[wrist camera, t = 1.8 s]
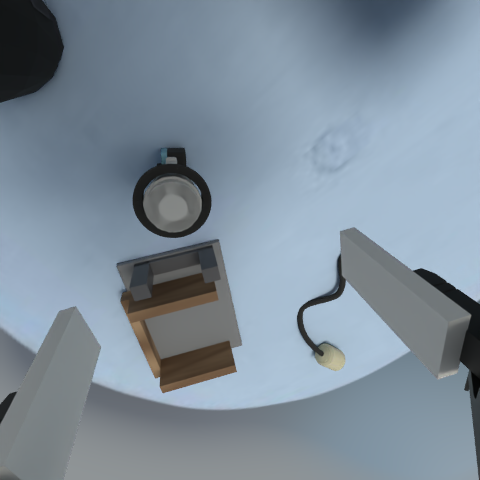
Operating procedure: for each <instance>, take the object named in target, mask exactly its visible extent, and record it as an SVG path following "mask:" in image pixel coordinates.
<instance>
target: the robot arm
mask: <svg viewBox="0 0 480 480" xmlns="http://www.w3.org/2000/svg"><path fill="white" fill-rule="evenodd" d="M340 242H341V266H342V276H343V277H344V278H345V279H346V280H347V282H348V283H349V284H350V285H351V286H352V287H353V288H354V289H355V290H356V291H357V292H358V294H359V295H360V296H361V297H362V298H363V299H364V300H365V301H366V302H367V303H368V304H369V306H370V307H371V308H372V309H373V310H374V311H375V312H376V313H377V314H378V315H379V316H380V317H381V319H382V320H383V321H384V322H385V323H386V324H387V325H388V326H389V327H390V328H391V329H392V331H393V332H394V333H395V334H396V335H397V336H398V337H399V338H400V339H401V340H402V341H403V343H404V344H405V345H406V346H407V347H408V348H409V349H410V350H411V351H412V352H413V353H414V354H415V356H416V357H417V358H418V359H419V360H420V361H421V362H422V363H423V364H424V365H425V366H426V368H427V369H428V370H429V371H430V372H431V373H432V374H433V375H434V376H435V377H436V378H437V379H441V378H443V377H447V376H450V375H453V374H455V373H457V372H458V368H459V364H460V361H461V362H462V363H463V364H464V365H465V366H466V367H467V368H468V369H469V374H468V377H467V381H466V384H465V389H464V390H466V391H468V390H470V398H471V409H472V417H473V427H474V436H475V446H476V455H477V465H478V475H479V480H480V304H478V303H477V302H476V301H474V300H473V299H471V298H470V297H468V296H467V295H465V294H464V293H463V292H461V291H460V290H458V289H456V288H455V287H454V286H453V285H451V284H450V283H447V282H446V281H445V280H444V279H442V278H441V277H440V276H438V275H437V274H435V273H432V272H430V271H427V270H424V269H422V268H421V269H417V270H414V271H412V270H411V269H409V268H408V267H407V266H405V265H404V264H403V263H401V262H400V261H399V260H397V259H396V258H395V257H393V256H392V255H391V254H389V253H388V252H387V251H385V250H384V249H383V248H381V247H380V246H379V245H377V244H376V243H375V242H373V241H372V240H371V239H369V238H368V237H367V236H365V235H364V234H363V233H361V232H360V231H359V230H357V229H356V228H355V227H354V228H350V229H347V230H343V231H340ZM100 349H101V346H100V345H99V343H98V341H97V340H96V338H95V336H94V335H93V333H92V332H91V330H90V328H89V327H88V325H87V323H86V322H85V320H84V319H83V317H82V315H81V314H80V312H79V310H78V309H77V307H76V306H75V307H72V308H68V309H65V310H61V311H59V313H58V314H57V316H56V318H55V320H54V322H53V324H52V326H51V328H50V330H49V332H48V334H47V336H46V338H45V339H44V341H43V343H42V345H41V347H40V349H39V351H38V353H37V355H36V357H35V359H34V361H33V363H32V364H31V366H30V369H29V370H28V372H27V374H26V376H25V378H24V380H23V382H22V384H21V386H20V388H19V389H18V391H17V392H14V393H11V394H9V395H8V396H7V397H6V398H5V400H4V401H3V402H2V403H1V404H0V480H64V476H65V472H66V469H67V466H68V462H69V459H70V455H71V451H72V448H73V445H74V441H75V437H76V434H77V430H78V426H79V423H80V420H81V416H82V412H83V409H84V406H85V402H86V398H87V395H88V391H89V388H90V384H91V381H92V377H93V374H94V370H95V367H96V363H97V360H98V356H99V353H100Z"/></svg>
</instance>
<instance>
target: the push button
mask: <svg viewBox="0 0 480 480" xmlns="http://www.w3.org/2000/svg"><path fill="white" fill-rule="evenodd" d="M161 160H162V163H158V164H157V166H156V167H153V168H151V169H150V170H148V171H147V172H146V173H144V174H143V175H142V177H141V178H140V179H139V181H138V182H137V184H136V186H135V189H134V193H133V208H134V211H135V214H136V216H137V218H138V219H139V221H140V222H141V223H142V225H143V226H144V227H145V228H147V229H148V230H149V231H151V232H153V233H155V234H157V235H159V236H163V237H168V238H178V237H184V236H187V235H189V234H192V233H193V232H195V231H197V230H198V229H199V228H200V227H201V226H202V225H203V224H204V223H205V221H206V220H207V218H208V216H209V213H210V210H211V195H210V191H209V188H208V186H207V184H206V182H205V181H204V179H203V178H202V177H201V176H200V175H199V174H198V173H197V172H195V171H194V170H192V169H191V168H189V167H186V154H185V149H184V148H161ZM154 178H155V180H154V181H153V182H152V183H151V185H150V186H149V188H148V189H147V191H146V192H145V194H144V189H145V188H146V186H147V185H148V184H149V183H150V182H151V181H152V180H153V179H154ZM191 180H192V181H193V182H194V183H195V184H196V185H197V186H198V188H199V189H200V191H201V196H200V194H199V192H198V190H197V188H196V187H195V186H194V184H193V182H192V181H191Z"/></svg>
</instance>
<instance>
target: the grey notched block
mask: <svg viewBox="0 0 480 480" xmlns="http://www.w3.org/2000/svg"><path fill="white" fill-rule="evenodd" d="M199 264H200V265H201V271H202V274H203V278H204V282H205V283H209V282H213V281H217V280H221V277H220V273H219V269H218V265H217V261H216V257H215V253H214V250H213V246H212V245H211V246H207V247H203V248H199V249H194V250H190V251H186V252H182V253H178V254H174V255H170V256H165V257H161V258H157V259H153V260H149V261H145V262H141V263H137V264H134V269H133V273H132V278H131V282H130V287H129V289H130V291H131V294H132V296H133V298H134V301H139V300H143V299H147V298H151V297H152V289H153V279H154V275H158V274H162V273H167V272H171V271H175V270H179V269H183V268H187V267H191V266H195V265H199Z"/></svg>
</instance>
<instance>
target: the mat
mask: <svg viewBox="0 0 480 480" xmlns="http://www.w3.org/2000/svg"><path fill="white" fill-rule="evenodd" d="M211 245H212V246H213V250H214V253H215V257H216V261H217V265H218V269H219V273H220V277H221V280H217V281H215V286H216V290H217V294H218V299H219V300H218V301H214V302H210V303H206V304H202V305H198V306H195V307H191V308H187V309H183V310H179V311H176V312H172V313H168V314H164V315H160V316H157V317H153V318H149V319H145V323H146V325H147V327H148V330H149V332H150V335H151V337H152V339H153V342H154V344H155V346H156V349H157V351H158V354H159V356H160V358H161V359H164V358H168V357H171V356H175V355H179V354H182V353H186V352H189V351H193V350H197V349H200V348H204V347H207V346H211V345H215V344H218V343H222V342H225V341H230V345H231V348H234V347H238V346H241V345H242V342H241V338H240V333H239V329H238V324H237V320H236V315H235V311H234V306H233V302H232V297H231V293H230V288H229V284H228V279H227V275H226V270H225V266H224V261H223V257H222V252H221V248H220V243H219V240H214V241H210V242H206V243H201V244H197V245H193V246H189V247H185V248H181V249H177V250H172V251H168V252H164V253H160V254H156V255H152V256H147V257H143V258H139V259H135V260H131V261H127V262H122V263H118V264H117V269H118V271H119V273H120V276H121V278H122V280H123V283H124V285H125V287H126V290H127V291H130V289H129V287H130V282H131V278H132V273H133V269H134V264H137V263H141V262H145V261H149V260H153V259H157V258H161V257H165V256H170V255H174V254H178V253H182V252H186V251H190V250H194V249H199V248H203V247H207V246H211ZM199 273H202V271H201V265H200V264H199V265H195V266H191V267H187V268H183V269H179V270H175V271H171V272H167V273H162V274H158V275H154V279H153V285H155V284H159V283H163V282H167V281H171V280H175V279H179V278H183V277H187V276H191V275H195V274H199Z"/></svg>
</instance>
